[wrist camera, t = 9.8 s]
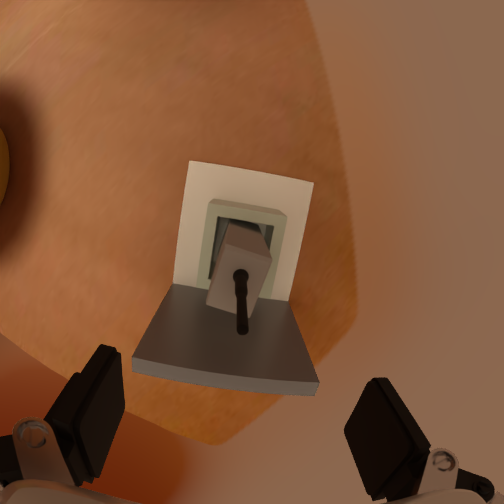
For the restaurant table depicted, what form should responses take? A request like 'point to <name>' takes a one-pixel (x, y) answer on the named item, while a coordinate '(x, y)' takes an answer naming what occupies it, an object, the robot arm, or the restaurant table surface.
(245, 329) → the vintage mobile phone
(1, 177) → the planter bowl
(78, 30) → the restaurant table surface
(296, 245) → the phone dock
